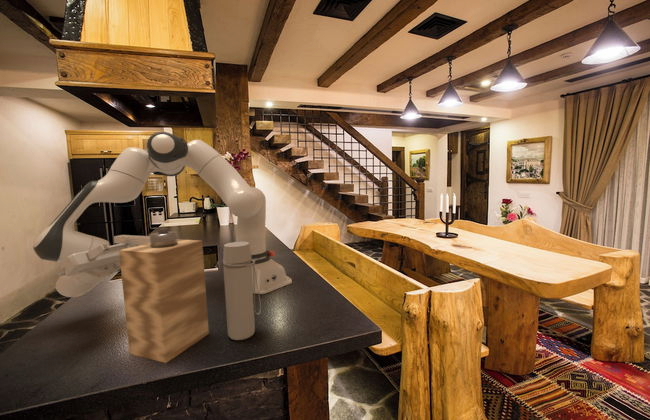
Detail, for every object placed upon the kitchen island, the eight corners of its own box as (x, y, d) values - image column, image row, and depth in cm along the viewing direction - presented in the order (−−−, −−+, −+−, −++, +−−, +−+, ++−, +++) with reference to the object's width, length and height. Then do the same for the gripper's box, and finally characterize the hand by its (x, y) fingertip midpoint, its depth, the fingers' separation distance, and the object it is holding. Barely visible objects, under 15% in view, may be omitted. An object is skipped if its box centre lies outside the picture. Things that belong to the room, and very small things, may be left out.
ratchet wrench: (107, 244, 79) (105, 228, 79) (129, 240, 85) (128, 225, 84) (163, 248, 72) (161, 231, 72) (183, 243, 78) (181, 227, 77)
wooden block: (129, 353, 75) (119, 250, 72) (175, 327, 88) (168, 238, 85) (166, 363, 70) (156, 253, 68) (208, 333, 83) (202, 240, 81)
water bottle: (229, 345, 77) (223, 248, 75) (226, 331, 84) (220, 243, 82) (265, 336, 81) (260, 244, 78) (259, 324, 88) (254, 239, 85)
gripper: (47, 265, 77) (74, 240, 72) (125, 247, 96) (150, 226, 91) (58, 287, 77) (86, 263, 72) (134, 265, 96) (160, 245, 91)
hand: (123, 243), depth 82 cm, fingers open, 8 cm apart
